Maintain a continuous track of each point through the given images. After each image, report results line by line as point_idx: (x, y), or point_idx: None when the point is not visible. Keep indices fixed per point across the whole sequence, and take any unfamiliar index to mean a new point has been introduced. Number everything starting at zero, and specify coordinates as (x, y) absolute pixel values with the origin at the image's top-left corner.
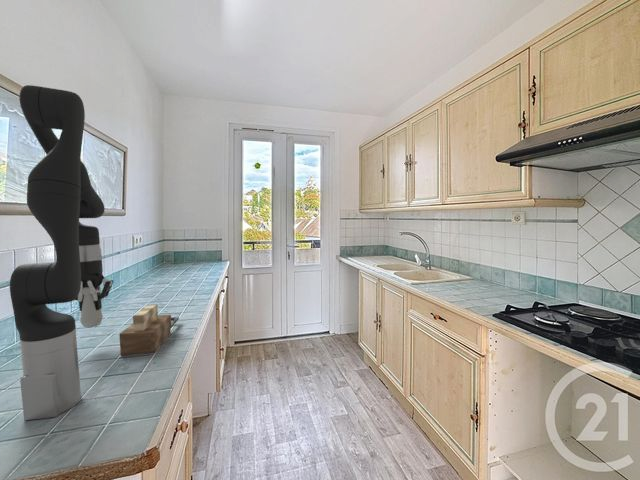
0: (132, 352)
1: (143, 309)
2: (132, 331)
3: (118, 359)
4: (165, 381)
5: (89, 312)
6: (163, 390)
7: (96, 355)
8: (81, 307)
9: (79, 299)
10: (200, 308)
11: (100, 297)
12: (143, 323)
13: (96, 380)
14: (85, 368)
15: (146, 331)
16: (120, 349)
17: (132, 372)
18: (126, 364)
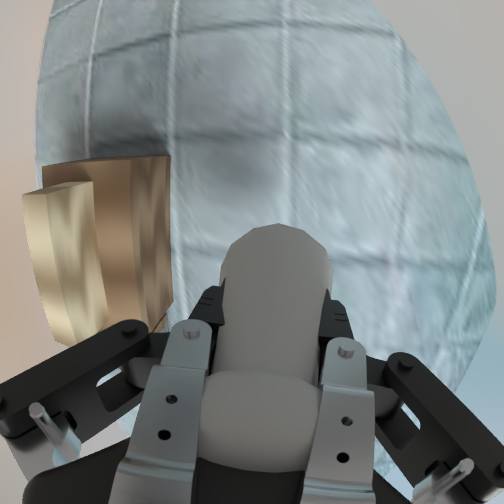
0: (135, 156)
1: (55, 287)
2: (95, 178)
3: (166, 127)
4: (56, 31)
5: (260, 257)
6: (59, 9)
7: (254, 177)
8: (328, 306)
9: (348, 348)
10: (124, 419)
11: (143, 331)
12: (47, 187)
13: (178, 18)
14: (243, 82)
15: (57, 169)
16: (161, 156)
17: (109, 53)
18: (133, 92)
